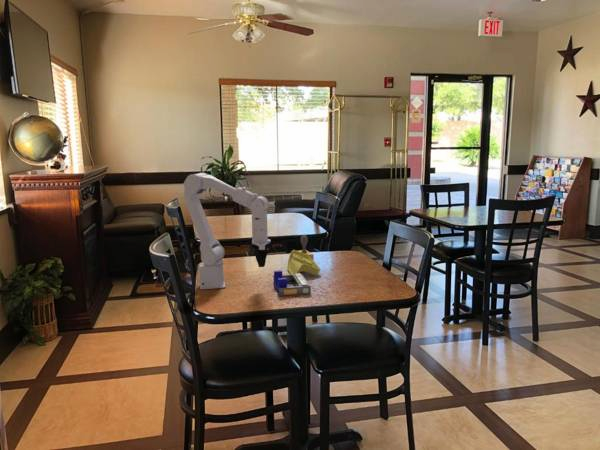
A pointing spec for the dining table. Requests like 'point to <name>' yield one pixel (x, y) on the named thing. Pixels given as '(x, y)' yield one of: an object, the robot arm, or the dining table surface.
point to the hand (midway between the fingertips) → (260, 264)
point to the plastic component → (301, 264)
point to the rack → (299, 283)
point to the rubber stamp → (304, 243)
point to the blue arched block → (279, 280)
